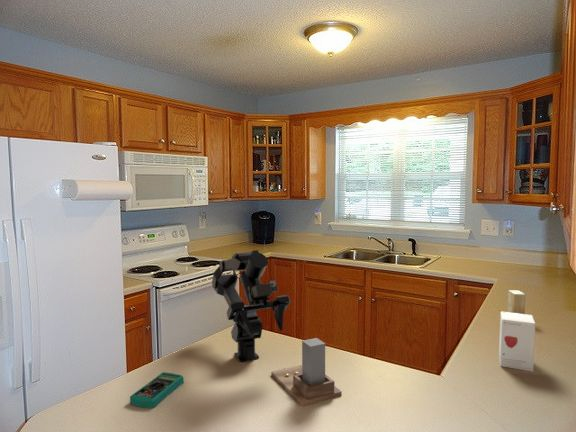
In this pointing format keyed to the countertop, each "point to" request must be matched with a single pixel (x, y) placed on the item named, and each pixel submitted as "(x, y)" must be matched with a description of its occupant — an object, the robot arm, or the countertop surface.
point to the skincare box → (516, 302)
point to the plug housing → (313, 361)
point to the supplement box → (517, 341)
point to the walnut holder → (305, 386)
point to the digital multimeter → (156, 390)
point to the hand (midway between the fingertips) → (267, 333)
